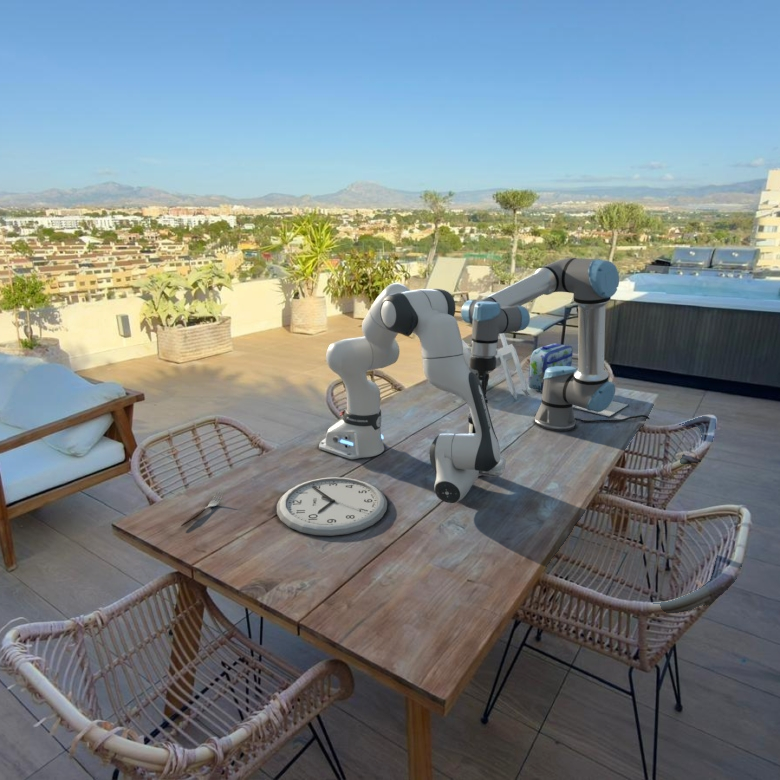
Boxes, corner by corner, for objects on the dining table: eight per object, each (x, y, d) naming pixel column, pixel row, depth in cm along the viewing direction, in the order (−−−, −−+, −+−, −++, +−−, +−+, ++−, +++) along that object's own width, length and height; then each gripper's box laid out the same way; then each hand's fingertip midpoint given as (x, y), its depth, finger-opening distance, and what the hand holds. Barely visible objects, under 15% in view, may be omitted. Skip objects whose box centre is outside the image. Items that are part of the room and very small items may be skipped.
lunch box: (544, 395, 239) (549, 351, 233) (524, 390, 247) (528, 347, 240) (571, 384, 257) (577, 343, 251) (552, 380, 264) (556, 339, 258)
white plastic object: (461, 429, 252) (437, 405, 227) (444, 352, 274) (420, 323, 250) (535, 404, 240) (518, 377, 215) (510, 326, 262) (492, 293, 237)
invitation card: (608, 416, 214) (573, 407, 224) (608, 416, 214) (573, 408, 224) (628, 404, 229) (594, 396, 238) (628, 405, 229) (594, 397, 238)
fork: (176, 526, 131) (176, 519, 130) (217, 497, 145) (217, 491, 145) (185, 528, 130) (184, 521, 130) (225, 499, 145) (224, 492, 144)
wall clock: (392, 527, 129) (268, 531, 127) (391, 533, 130) (269, 537, 127) (383, 473, 158) (282, 475, 155) (383, 478, 158) (282, 480, 156)
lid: (467, 418, 162) (467, 411, 161) (487, 418, 162) (488, 412, 161) (469, 425, 156) (469, 419, 155) (491, 426, 156) (491, 419, 155)
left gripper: (501, 466, 145) (511, 448, 158) (431, 452, 153) (446, 436, 166) (499, 486, 147) (509, 467, 159) (431, 472, 155) (445, 454, 167)
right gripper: (474, 347, 163) (469, 415, 170) (466, 362, 144) (461, 439, 151) (498, 348, 161) (492, 417, 168) (494, 365, 142) (488, 442, 149)
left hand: (477, 451), depth 163 cm, fingers closed on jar, 5 cm apart
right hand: (478, 427), depth 159 cm, fingers open, 8 cm apart
